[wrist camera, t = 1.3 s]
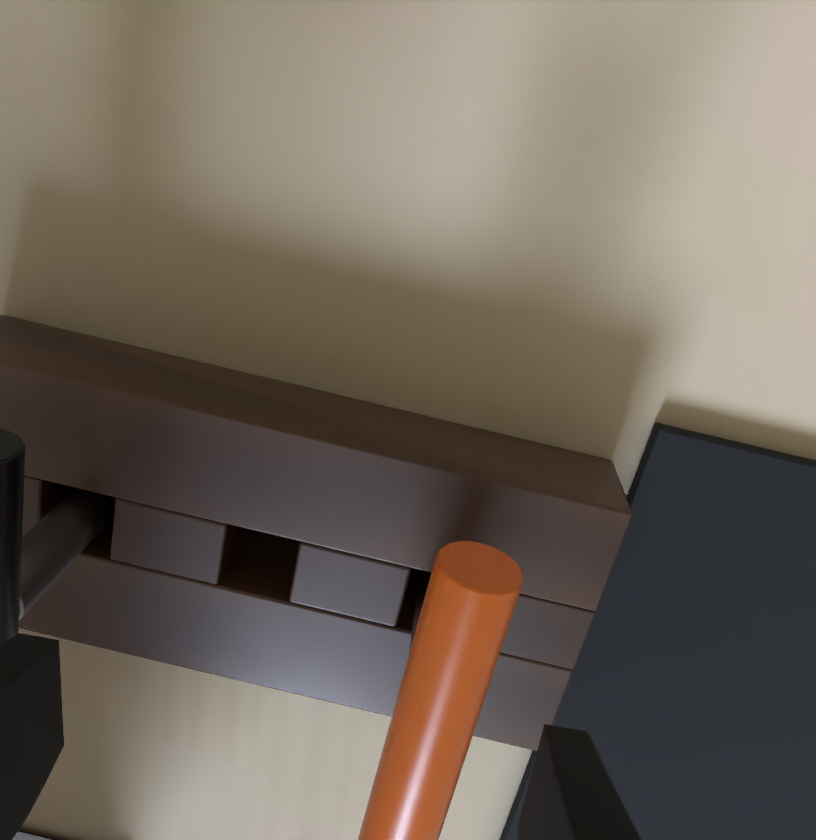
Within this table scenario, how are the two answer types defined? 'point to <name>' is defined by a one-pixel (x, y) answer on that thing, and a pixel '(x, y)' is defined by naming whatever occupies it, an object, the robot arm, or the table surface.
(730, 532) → the mat
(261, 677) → the rack
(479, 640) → the t handle
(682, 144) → the table surface
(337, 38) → the table surface
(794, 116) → the table surface
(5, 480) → the black t handle tool
